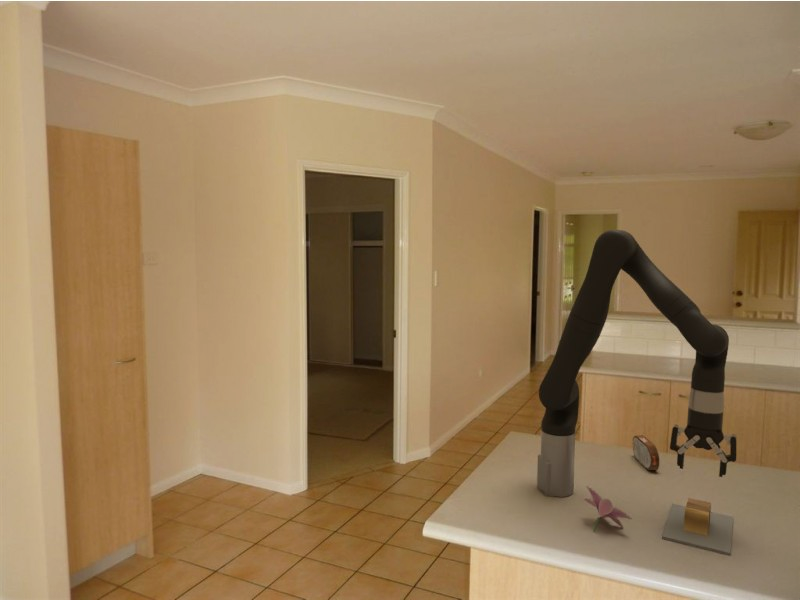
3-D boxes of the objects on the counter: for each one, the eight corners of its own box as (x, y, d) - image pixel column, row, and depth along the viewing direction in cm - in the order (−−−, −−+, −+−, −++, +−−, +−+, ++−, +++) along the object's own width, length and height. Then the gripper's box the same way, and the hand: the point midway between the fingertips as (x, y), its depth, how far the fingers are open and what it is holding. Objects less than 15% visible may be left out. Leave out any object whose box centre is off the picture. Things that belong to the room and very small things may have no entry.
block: (710, 522, 141) (707, 535, 134) (687, 516, 144) (683, 530, 137) (711, 502, 140) (708, 515, 134) (688, 497, 143) (684, 510, 136)
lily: (633, 546, 133) (643, 505, 135) (588, 529, 132) (598, 488, 134) (606, 537, 144) (615, 499, 147) (564, 521, 143) (575, 483, 146)
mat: (730, 555, 127) (730, 552, 127) (661, 538, 134) (661, 536, 134) (732, 518, 144) (733, 516, 144) (672, 505, 151) (672, 503, 151)
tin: (660, 474, 172) (661, 447, 171) (649, 474, 172) (650, 447, 171) (640, 456, 187) (641, 431, 186) (630, 456, 187) (631, 431, 186)
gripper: (671, 406, 138) (667, 470, 139) (739, 416, 130) (734, 484, 132) (675, 399, 144) (670, 460, 146) (740, 408, 137) (735, 473, 138)
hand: (701, 471), depth 139 cm, fingers open, 8 cm apart
